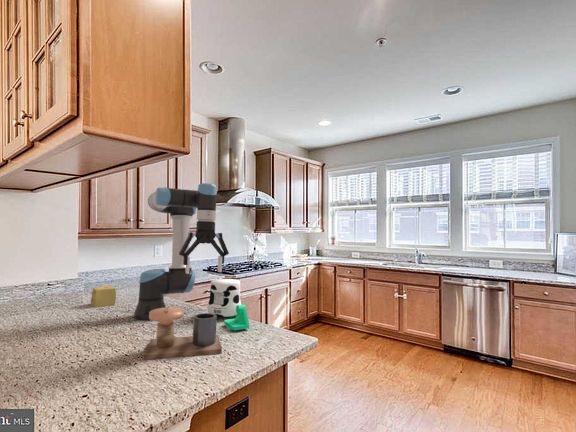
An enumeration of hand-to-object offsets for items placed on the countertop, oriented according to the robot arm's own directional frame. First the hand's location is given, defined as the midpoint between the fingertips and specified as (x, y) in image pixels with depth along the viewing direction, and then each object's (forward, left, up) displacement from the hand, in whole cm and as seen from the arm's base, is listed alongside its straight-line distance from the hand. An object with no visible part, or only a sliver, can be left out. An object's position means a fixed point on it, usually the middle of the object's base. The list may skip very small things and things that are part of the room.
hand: (203, 272), depth 128 cm
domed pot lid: (-2, -15, -18) cm, 23 cm away
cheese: (-87, +4, -28) cm, 91 cm away
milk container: (-18, +31, -27) cm, 45 cm away
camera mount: (0, +20, -28) cm, 34 cm away
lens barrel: (+7, -4, -26) cm, 27 cm away
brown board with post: (+2, -10, -27) cm, 29 cm away
